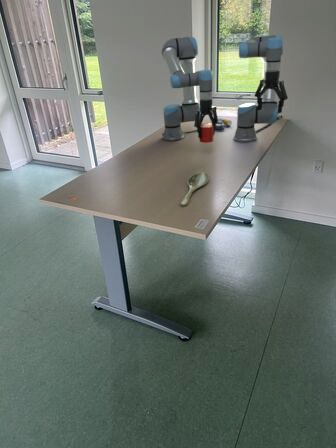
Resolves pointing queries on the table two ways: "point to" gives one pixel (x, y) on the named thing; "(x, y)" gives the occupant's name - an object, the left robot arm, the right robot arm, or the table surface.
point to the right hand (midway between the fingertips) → (269, 111)
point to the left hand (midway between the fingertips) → (206, 136)
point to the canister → (207, 133)
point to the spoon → (195, 184)
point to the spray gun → (220, 124)
